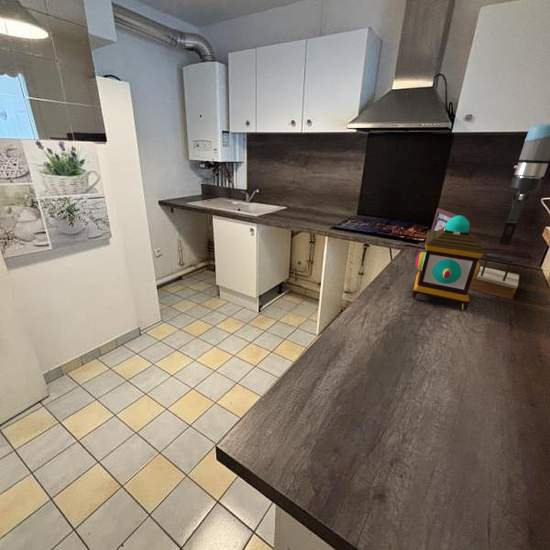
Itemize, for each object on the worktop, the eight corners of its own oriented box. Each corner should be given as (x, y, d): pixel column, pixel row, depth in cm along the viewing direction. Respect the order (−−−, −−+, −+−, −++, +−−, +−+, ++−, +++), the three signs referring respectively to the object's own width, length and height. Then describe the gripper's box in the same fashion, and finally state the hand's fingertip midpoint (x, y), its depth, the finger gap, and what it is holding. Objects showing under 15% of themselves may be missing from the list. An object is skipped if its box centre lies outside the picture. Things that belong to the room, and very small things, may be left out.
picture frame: (423, 257, 149) (435, 208, 139) (442, 258, 148) (456, 208, 138) (439, 269, 133) (453, 215, 123) (460, 270, 133) (477, 216, 123)
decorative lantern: (406, 299, 105) (426, 216, 93) (411, 280, 121) (428, 207, 109) (471, 314, 97) (501, 225, 85) (467, 291, 113) (492, 214, 101)
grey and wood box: (516, 288, 105) (527, 262, 101) (467, 276, 114) (474, 252, 110) (518, 276, 115) (527, 253, 111) (472, 266, 124) (479, 244, 120)
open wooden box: (512, 299, 107) (516, 288, 105) (463, 287, 116) (467, 276, 114) (513, 288, 117) (518, 277, 115) (469, 277, 126) (472, 267, 124)
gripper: (514, 174, 106) (495, 231, 114) (511, 178, 88) (489, 245, 96) (541, 176, 101) (519, 235, 110) (543, 180, 83) (517, 250, 92)
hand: (505, 240), depth 103 cm, fingers open, 13 cm apart
